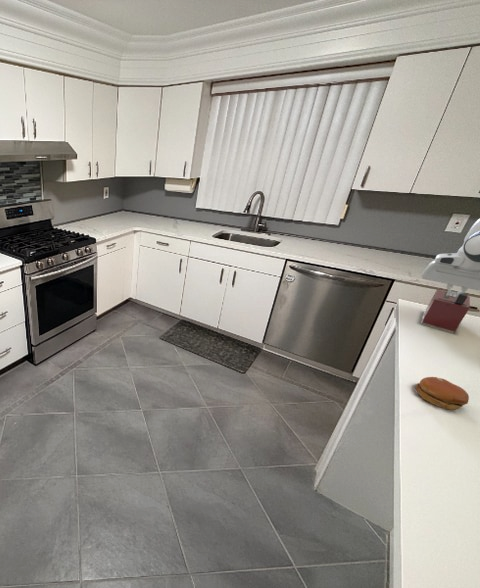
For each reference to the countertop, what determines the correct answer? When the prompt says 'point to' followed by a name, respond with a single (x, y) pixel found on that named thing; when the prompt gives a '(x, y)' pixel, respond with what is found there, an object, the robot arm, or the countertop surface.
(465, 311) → the toaster
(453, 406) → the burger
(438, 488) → the countertop surface
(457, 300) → the browning slider
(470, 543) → the countertop surface
